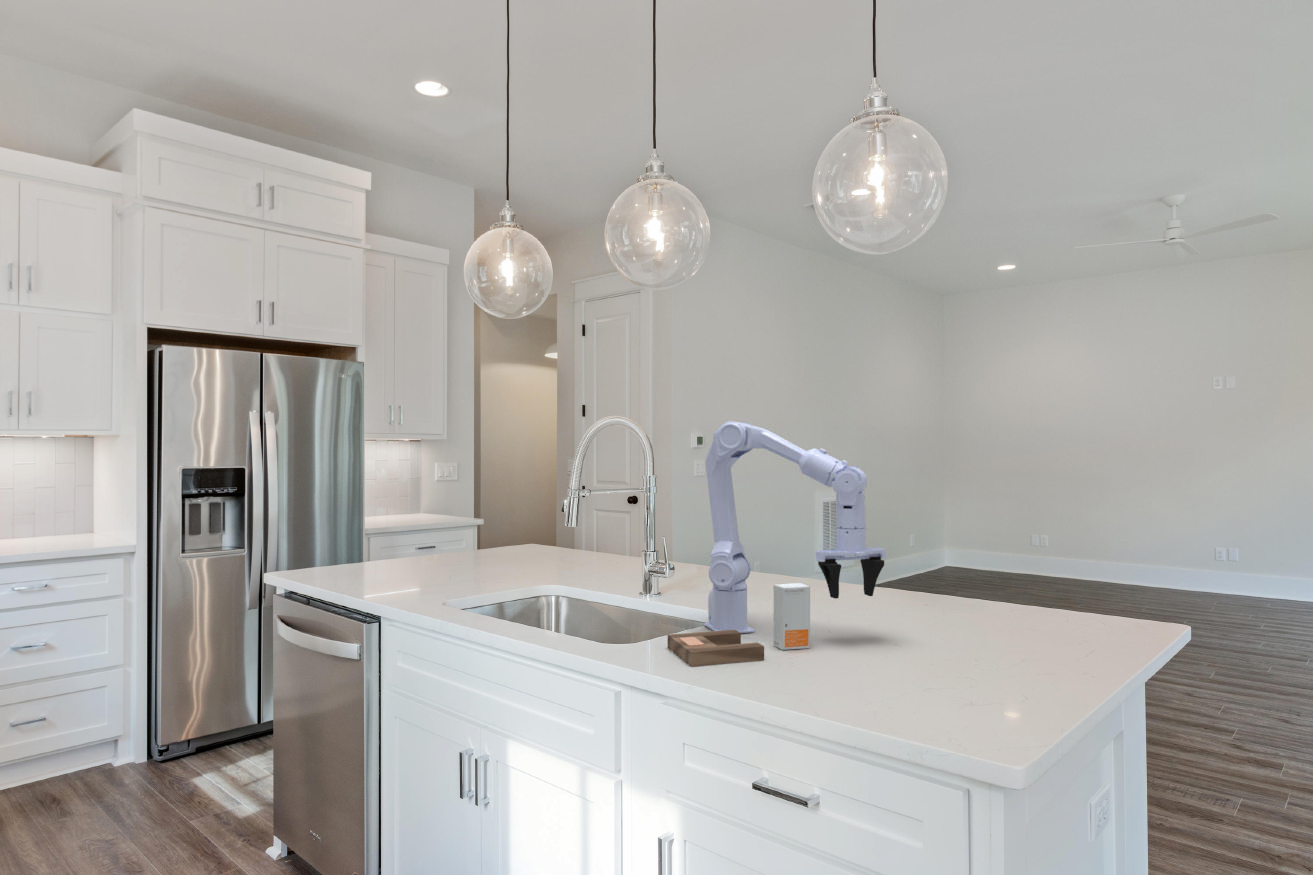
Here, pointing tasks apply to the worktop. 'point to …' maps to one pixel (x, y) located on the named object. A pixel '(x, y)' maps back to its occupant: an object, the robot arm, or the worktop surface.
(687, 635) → the rack board
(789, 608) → the skincare box
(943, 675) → the worktop surface
